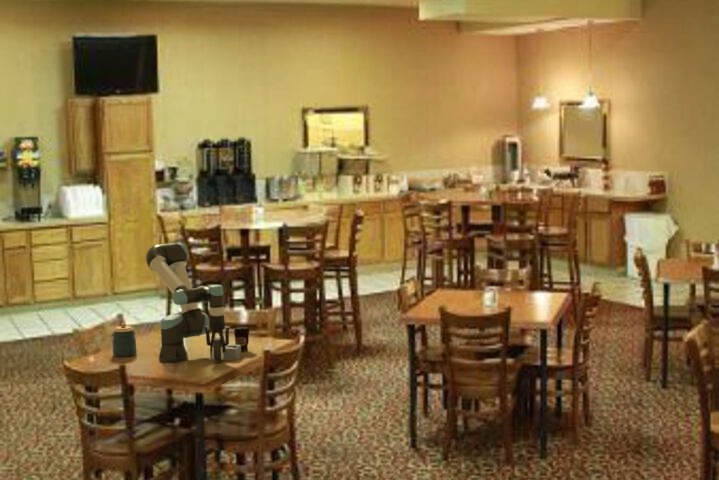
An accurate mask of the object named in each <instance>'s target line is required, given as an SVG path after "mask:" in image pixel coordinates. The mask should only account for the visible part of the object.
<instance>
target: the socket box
mask: <svg viewBox="0 0 719 480" xmlns="http://www.w3.org/2000/svg"><path fill="white" fill-rule="evenodd" d="M225 348H226V351H225V353H224V358H223V359H222V361H237V360H238V359H239V358H241V357H242V352H241V345H235V344H229V345H227V346H225ZM209 354H210V355H209V356H210V361H215V360H214V359H213V358H212V352H211V350H210V349H209Z"/></svg>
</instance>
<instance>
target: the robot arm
mask: <svg viewBox="0 0 719 480" xmlns="http://www.w3.org/2000/svg"><path fill="white" fill-rule="evenodd" d="M145 255H146V256H145V262H146V265H147V266H148V268H149V269H150V270H151V271H153V272H155V273H156V274H157V276H158V277H159V278H160V280H161V281H162V282H163V283H164V284H165V286H166V287H167V288H168V289H169V291H170V292H171V293H172V301H173V303H174V304H175V305H177V306H180V309H181V313H180V314H179V313H178V314H177V313H176V314H175V313H174V314H169V315H166V316H164V317H162V319H161V320H160V338H161V346H160V351H159V354H158V361H159V362H162V363H179V362H185V361H186V360H188V358H189V355H188V352H187V351H188V350H187V349H186V347H185V341H184V339H186V338H188V339H189V338H192V337H200V336H203V335H205V341H206V345H207V346H209V347H210V348H209V351H210V350H211V352H212V358H213V359H214V337H216V334H217V333H218V335H219V337H220V339H221V343H222V347H221V359H223V358H224V353H225V351H226V348H225V346H227V345H230V330H231V326H229V325H228V326H227V325H226V324H225V315H224V314H225V306H224V305H225V303H224V301H225V300H224V299H225V298H224V297H225V295H224V294H225V293H224V286H223V285H221V284H210V285H208V286H207V285H199V286H198V287H194V288H192V285H191V281H190V279H189V275H188V272H187V267H186V266H188V265H187V264H188V263H187V262H188V261H189V259H190V258H189V257H190V256H189V255H190V254H189V250H188V248H187V247H186V245H185V244H184V243H182V242H171V243H170V242H169V243H161V244H155V245H153V246H151V247H150V248H148V250H147V252H146V254H145ZM201 302H208V305H209V306H208V308H209V315H208V314H207V313H206V312H203V311H202V308H201V307H198V305H197V303H201ZM210 330H211V334H210ZM224 330H225V333H224ZM224 334H225V335H224Z"/></svg>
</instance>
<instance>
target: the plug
mask: <svg viewBox="0 0 719 480" xmlns="http://www.w3.org/2000/svg"><path fill="white" fill-rule="evenodd" d="M213 346H214V360H213V361H214V362H219V363H220V362H222V361H223V360H222V359H221V347H222V343H221V339H220V336H215V337H214V345H213Z"/></svg>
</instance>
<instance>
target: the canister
mask: <svg viewBox="0 0 719 480" xmlns="http://www.w3.org/2000/svg"><path fill="white" fill-rule="evenodd" d="M134 330H135V328H134V327H132V326H130V325H126V323H124V322H122V323H121V324H120V325H119V326H115V328H113V329H112V331H113V332H112V333H111V337H112V340H111V343H112V356H113V357H116V358H129V357H133V356H136V355H137V351H138V350H137V338H136V334H137V332H136V331H134Z"/></svg>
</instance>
